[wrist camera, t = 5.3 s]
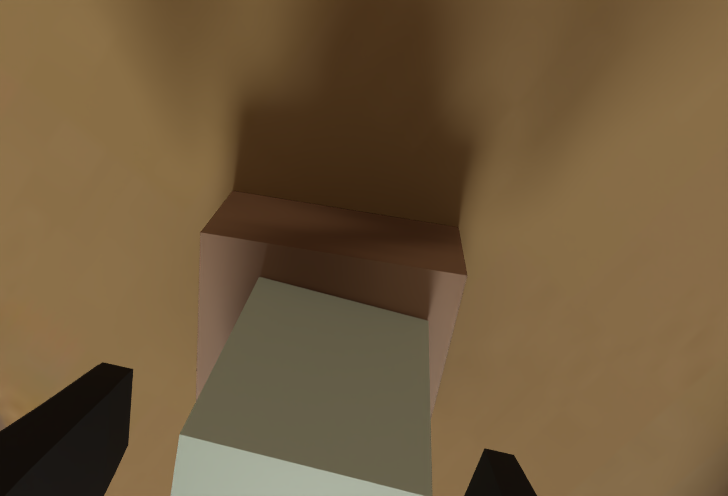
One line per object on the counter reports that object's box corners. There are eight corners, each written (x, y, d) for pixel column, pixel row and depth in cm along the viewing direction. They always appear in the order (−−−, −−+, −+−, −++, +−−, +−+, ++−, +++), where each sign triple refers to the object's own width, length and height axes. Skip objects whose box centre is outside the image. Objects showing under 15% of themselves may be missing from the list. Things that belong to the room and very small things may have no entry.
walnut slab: (457, 222, 16) (467, 275, 13) (416, 396, 19) (417, 471, 16) (236, 186, 16) (200, 232, 13) (226, 366, 18) (195, 435, 16)
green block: (428, 321, 14) (432, 497, 9) (383, 445, 15) (368, 644, 11) (259, 276, 14) (180, 434, 9) (233, 407, 15) (156, 593, 11)
